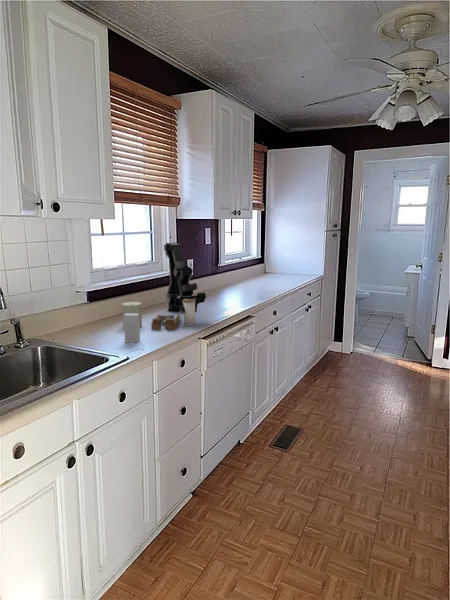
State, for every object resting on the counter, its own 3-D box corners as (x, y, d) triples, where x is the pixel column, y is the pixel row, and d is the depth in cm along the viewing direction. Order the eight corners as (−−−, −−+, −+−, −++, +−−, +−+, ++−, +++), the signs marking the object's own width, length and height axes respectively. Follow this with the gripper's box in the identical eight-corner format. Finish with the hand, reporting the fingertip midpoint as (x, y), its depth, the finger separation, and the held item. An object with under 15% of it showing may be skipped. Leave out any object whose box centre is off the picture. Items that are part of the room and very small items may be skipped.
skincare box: (140, 339, 184) (139, 313, 181) (138, 342, 179) (137, 315, 177) (126, 339, 183) (125, 313, 181) (124, 342, 179) (123, 315, 177)
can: (123, 329, 200) (122, 304, 198) (122, 324, 209) (121, 301, 206) (142, 328, 202) (142, 304, 200) (141, 323, 211) (140, 300, 209)
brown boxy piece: (158, 319, 220) (158, 310, 219) (179, 319, 220) (179, 310, 219) (151, 329, 200) (151, 319, 199) (175, 329, 200) (175, 319, 199)
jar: (181, 325, 209) (181, 299, 206) (186, 322, 214) (186, 297, 212) (193, 326, 207) (193, 300, 204) (197, 323, 213) (197, 298, 210)
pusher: (158, 323, 210) (158, 314, 210) (174, 323, 210) (174, 315, 210) (155, 327, 203) (155, 318, 202) (172, 327, 203) (172, 318, 202)
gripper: (169, 278, 207) (174, 304, 199) (205, 276, 213) (211, 302, 205) (166, 291, 215) (171, 316, 207) (200, 289, 222) (206, 314, 214)
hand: (190, 312), depth 208 cm, fingers closed on jar, 6 cm apart
